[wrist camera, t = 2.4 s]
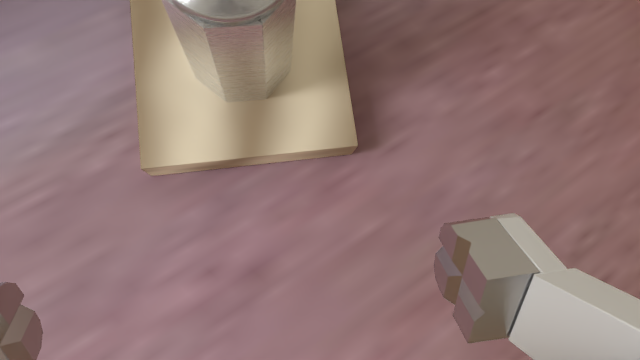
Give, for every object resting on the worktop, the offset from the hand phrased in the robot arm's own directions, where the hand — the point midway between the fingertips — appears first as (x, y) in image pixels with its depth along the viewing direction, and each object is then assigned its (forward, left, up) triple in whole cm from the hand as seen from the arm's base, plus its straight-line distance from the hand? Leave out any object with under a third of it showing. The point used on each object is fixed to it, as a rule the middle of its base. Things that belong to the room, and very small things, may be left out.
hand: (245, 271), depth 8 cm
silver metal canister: (0, +12, -14) cm, 19 cm away
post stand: (0, +12, -16) cm, 20 cm away
